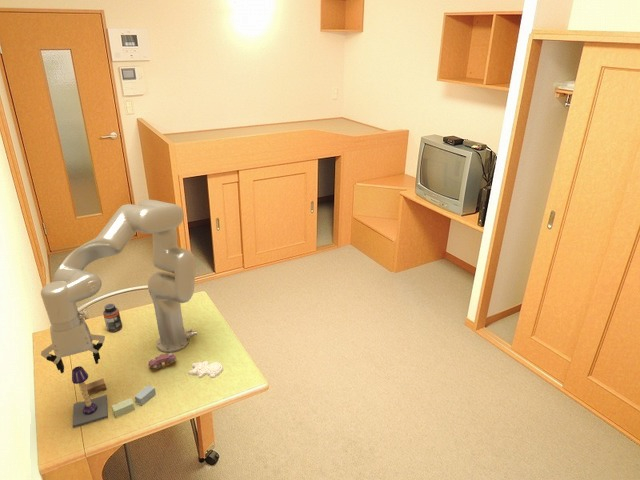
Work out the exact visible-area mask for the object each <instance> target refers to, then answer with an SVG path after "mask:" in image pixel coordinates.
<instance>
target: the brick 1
mask: <svg viewBox="0 0 640 480" xmlns="http://www.w3.org/2000/svg"><path fill="white" fill-rule="evenodd" d="M85 386H86V388H87V391H88V394H89V397H90V396H93V395H95V394H99V393H101V392H103V391H107V386H106V382H105V379H104V378H100V379H98V380H95V381H93V382H90V383H85Z"/></svg>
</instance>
